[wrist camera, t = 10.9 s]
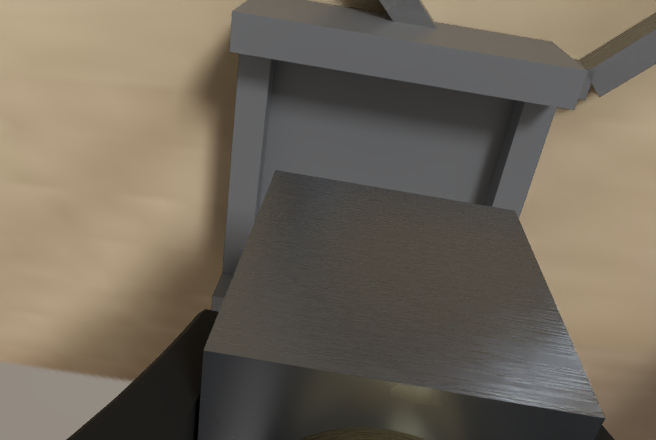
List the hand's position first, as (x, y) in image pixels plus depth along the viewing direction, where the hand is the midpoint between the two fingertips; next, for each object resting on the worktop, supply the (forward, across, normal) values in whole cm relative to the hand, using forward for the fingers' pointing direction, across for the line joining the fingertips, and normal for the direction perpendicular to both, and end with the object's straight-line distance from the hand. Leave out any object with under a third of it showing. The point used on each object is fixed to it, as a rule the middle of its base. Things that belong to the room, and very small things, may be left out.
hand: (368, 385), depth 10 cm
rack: (+10, 0, 0) cm, 10 cm away
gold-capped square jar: (+2, 0, 0) cm, 3 cm away
